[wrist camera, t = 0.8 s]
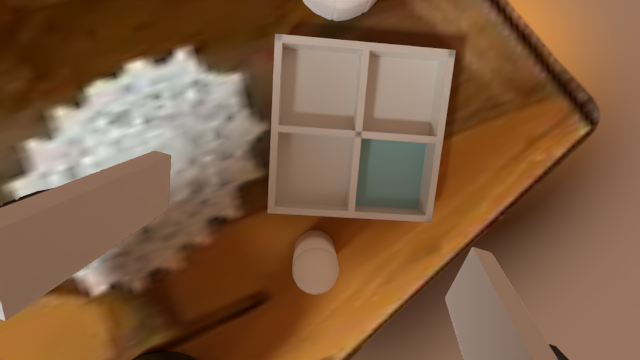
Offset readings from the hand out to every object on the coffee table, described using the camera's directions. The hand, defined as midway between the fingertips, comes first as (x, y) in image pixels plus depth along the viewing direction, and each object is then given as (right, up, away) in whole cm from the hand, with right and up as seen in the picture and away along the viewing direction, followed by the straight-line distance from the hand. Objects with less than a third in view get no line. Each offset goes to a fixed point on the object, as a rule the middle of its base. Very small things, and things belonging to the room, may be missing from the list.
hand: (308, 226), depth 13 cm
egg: (0, -8, +28) cm, 29 cm away
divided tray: (+5, +8, +26) cm, 27 cm away
